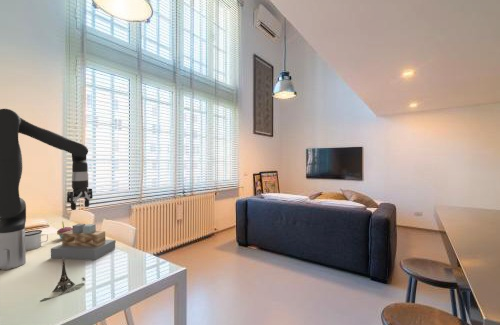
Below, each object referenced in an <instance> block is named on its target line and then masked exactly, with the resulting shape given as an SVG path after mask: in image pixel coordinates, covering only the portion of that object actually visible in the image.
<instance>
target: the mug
mask: <svg viewBox="0 0 500 325" xmlns="http://www.w3.org/2000/svg"><path fill="white" fill-rule="evenodd" d="M42 232H43V230H42V229H41V230H40V229H36V230H35V229H34V230H29V231H25V251H32V250H36V249H38V248H40V247H42V243H46V242H48V240H49V235H48V233H42ZM42 236H46V240H44V241H43V240H42Z"/></svg>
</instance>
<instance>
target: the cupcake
mask: <svg viewBox="0 0 500 325" xmlns="http://www.w3.org/2000/svg"><path fill="white" fill-rule="evenodd" d="M61 223H62V224H61V225H62V227H61V228H59V229H58V230H57V231H56V234H57V235H58V236H59V238H60V239H61V240H62V233H65V232H67V231H70V230H73V227H70V226H65V224H64V221H63V220H62V222H61Z"/></svg>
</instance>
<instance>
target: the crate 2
mask: <svg viewBox="0 0 500 325" xmlns="http://www.w3.org/2000/svg"><path fill="white" fill-rule="evenodd" d="M96 231H97V230H96V223H87V224H85V226H83V234H91V233H93V232H96Z"/></svg>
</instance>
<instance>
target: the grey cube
mask: <svg viewBox="0 0 500 325" xmlns="http://www.w3.org/2000/svg"><path fill="white" fill-rule="evenodd" d="M85 225H86V223H76V224H73V225H71V226H72V227H71V228H73V233H81V232H83V226H85Z"/></svg>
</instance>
